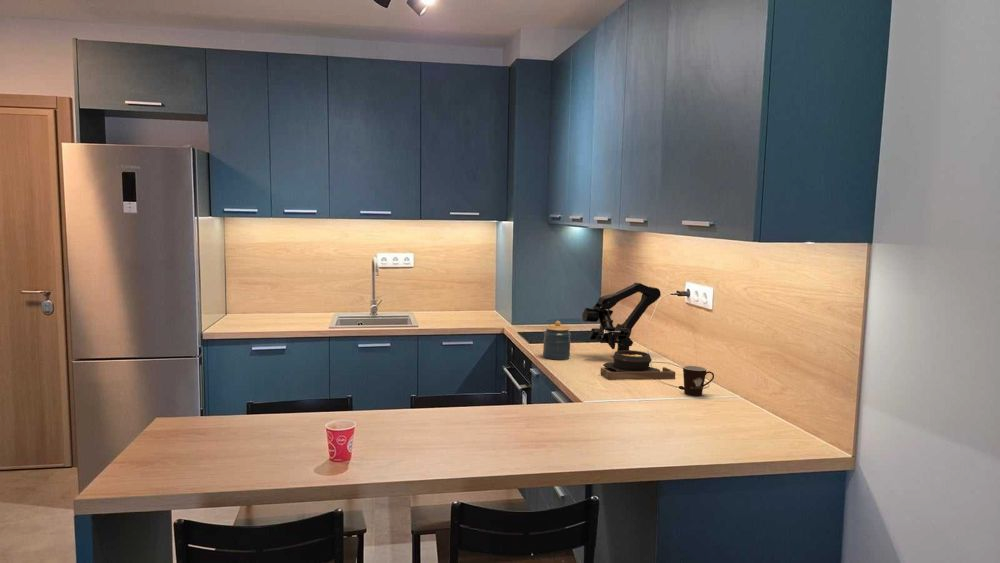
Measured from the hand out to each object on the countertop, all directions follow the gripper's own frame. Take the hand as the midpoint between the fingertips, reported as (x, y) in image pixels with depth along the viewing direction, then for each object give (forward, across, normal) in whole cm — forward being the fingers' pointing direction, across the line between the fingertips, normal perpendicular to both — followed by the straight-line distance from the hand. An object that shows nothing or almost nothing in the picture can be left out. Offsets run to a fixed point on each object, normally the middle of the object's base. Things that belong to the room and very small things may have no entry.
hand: (613, 348), depth 298 cm
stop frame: (+24, +1, +14) cm, 28 cm away
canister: (-5, +23, -15) cm, 28 cm away
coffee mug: (+45, -10, +35) cm, 58 cm away
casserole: (+18, -1, +8) cm, 19 cm away
